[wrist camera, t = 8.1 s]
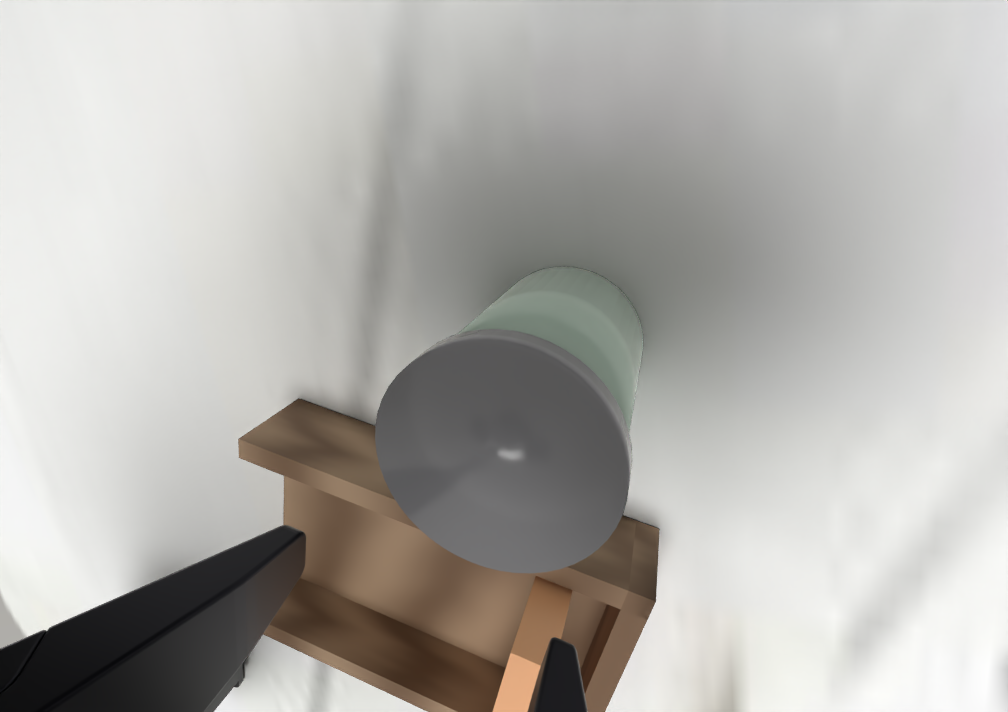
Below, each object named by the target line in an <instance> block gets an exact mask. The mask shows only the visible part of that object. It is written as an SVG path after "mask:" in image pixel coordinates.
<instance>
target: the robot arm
mask: <svg viewBox="0 0 1008 712" xmlns="http://www.w3.org/2000/svg"><path fill="white" fill-rule="evenodd" d="M305 560H306V535H305V533H304V532H303V531H301V530H299V529H296V528H294V527H291V526H288V525H283V526H280V527H277V528H275V529H273V530H271V531H268V532H266V533H264V534H261V535H259V536H257V537H255V538H252V539H250V540H248V541H245V542H243V543H241V544H239V545H236V546H234V547H232V548H230V549H227V550H225V551H223V552H220V553H218V554H216V555H214V556H211V557H209V558H207V559H204V560H202V561H200V562H198V563H195V564H193V565H191V566H188V567H186V568H184V569H182V570H179V571H177V572H175V573H172V574H170V575H168V576H166V577H163V578H161V579H159V580H157V581H154V582H152V583H150V584H147V585H145V586H143V587H141V588H138V589H136V590H134V591H131V592H129V593H127V594H125V595H122V596H120V597H118V598H115V599H113V600H111V601H109V602H106V603H104V604H102V605H99V606H97V607H95V608H93V609H90V610H88V611H86V612H84V613H81V614H79V615H77V616H74V617H72V618H70V619H68V620H65V621H63V622H61V623H58V624H56V625H54V626H52V627H50V628H49V629H48V630H47V631H46V630H42V631H40V632H37V633H35V634H33V635H31V636H28V637H26V638H24V639H22V640H19V641H17V642H15V643H13V644H10V645H8V646H5V647H3V648H1V649H0V712H214V710H215V709H216V708H217V707H218V706H219V704H220V703H221V702H222V701H223V699H224V698H225V697H226V696H227V695H228V693H229V692H230V691H231V690H232V688H233V687H239V686H240V684H241V683H242V682H243V662H244V661H245V660H246V658H247V657H248V656H249V654H250V653H251V651H252V650H253V648H254V647H255V645H256V644H257V643H258V641H259V639H260V638H261V636H262V635H263V633H264V632H265V630H266V629H267V627H268V626H269V624H270V623H271V621H272V620H273V618H274V617H275V615H276V614H277V612H278V611H279V609H280V608H281V606H282V604H283V603H284V601H285V600H286V598H287V597H288V595H289V594H290V592H291V591H292V589H293V588H294V586H295V585H296V583H297V582H298V580H299V579H300V577H301V575H302V573H303V571H304V568H305ZM528 712H588V710H587V704H586V699H585V693H584V688H583V683H582V677H581V672H580V666H579V661H578V655H577V651H576V648H575V646H574V645H573V644H571V643H568V642H566V641H563V640H561V639H559V638H556V637H553V638H551V639H550V642H549V644H548V647H547V650H546V653H545V656H544V658H543V661H542V664H541V667H540V670H539V673H538V676H537V680H536V683H535V687H534V690H533V694H532V698H531V701H530V705H529V708H528Z"/></svg>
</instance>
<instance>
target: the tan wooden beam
mask: <svg viewBox="0 0 1008 712" xmlns="http://www.w3.org/2000/svg"><path fill="white" fill-rule="evenodd" d="M572 591H573V590H570V589H568V588H565V587H563V586H560V585H558V584H555V583H553V582H550V581H548V580H545V579H543V578H540V577H538V576H536V577H535V580H534V583H533V586H532V589H531V592H530V595H529V598H528V601H527V604H526V607H525V610H524V613H523V616H522V620H521V623H520V626H519V629H518V632H517V635H516V638H515V641H514V644H513V647H512V650H511V653H510V656H509V660H508V663H507V666H506V669H505V673H504V676H503V679H502V682H501V686H500V689H499V692H498V695H497V699H496V702H495V705H494V708H493V712H528V708H529V705H530V701H531V698H532V694H533V690H534V687H535V683H536V680H537V676H538V673H539V670H540V667H541V664H542V661H543V658H544V656H545V653H546V650H547V647H548V644H549V642H550V639H551V638H553V637H556V638H559V639H561V637H562V633H563V629H564V625H565V620H566V616H567V612H568V608H569V604H570V599H571V595H572Z"/></svg>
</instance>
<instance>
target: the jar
mask: <svg viewBox="0 0 1008 712" xmlns="http://www.w3.org/2000/svg"><path fill="white" fill-rule="evenodd" d="M642 353H643V333H642V327H641V324H640V321H639V317H638V315H637V313H636V311H635V309H634V307H633V305H632V304H631V302H630V301H629V299H628V298H627V297H626V296H625V295H624V293H623V292H622V291H621V290H620V289H619V288H617V287H616V286H615V285H614V284H613V283H611V282H610V281H608V280H607V279H605V278H604V277H602V276H600V275H598V274H596V273H594V272H591V271H588V270H585V269H580V268H575V267H551V268H546V269H542V270H539V271H536V272H534V273H532V274H530V275H528V276H526V277H524V278H523V279H521V280H520V281H518V282H517V283H516V284H515V285H514V286H512V287H511V288H510V289H509V290H508V291H507V292H505V293H504V294H503V295H502V296H501V297H500V298H498V299H497V300H496V301H495V302H494V303H493V304H491V305H490V306H489V307H488V308H487V309H486V310H485V311H483V312H482V313H481V314H480V315H479V316H478V317H476V318H475V319H474V320H473V321H472V322H471V323H469V324H468V325H467V326H466V327H465V328H464V329H463V330H461V331H460V332H459V333H458V334H457V335H453V336H450V337H448V338H446V339H444V340H442V341H440V342H438V343H436V344H435V345H433V346H432V347H430V348H429V349H428V350H426V351H425V352H424V353H422V354H421V355H420V356H419V357H418V358H416V359H415V360H414V361H413V362H411V363H410V364H409V365H408V366H407V367H406V368H405V369H404V370H402V371H401V372H400V373H399V374H398V375H397V376H396V378H395V379H394V380H393V382H392V383H391V384H390V386H389V387H388V389H387V391H386V393H385V395H384V397H383V398H382V401H381V404H380V407H379V410H378V414H377V420H376V426H375V443H376V453H377V457H378V461H379V466H380V469H381V471H382V474H383V477H384V480H385V482H386V484H387V486H388V488H389V490H390V492H391V494H392V495H393V497H394V499H395V500H396V502H397V503H398V505H399V506H400V508H401V509H402V510H403V511H404V513H405V514H406V515H407V516H408V518H409V519H410V520H411V521H412V522H413V523H414V524H415V525H416V526H417V527H418V528H419V529H420V530H421V531H422V532H423V533H425V534H426V535H427V536H428V537H429V538H430V539H432V540H433V541H434V542H436V543H437V544H439V545H440V546H442V547H443V548H444V549H446V550H448V551H450V552H451V553H453V554H455V555H457V556H459V557H461V558H463V559H465V560H467V561H470V562H472V563H475V564H478V565H481V566H483V567H486V568H491V569H495V570H499V571H505V572H512V573H542V572H549V571H554V570H558V569H562V568H565V567H568V566H570V565H573V564H575V563H577V562H579V561H581V560H583V559H585V558H587V557H588V556H590V555H591V554H592V553H594V552H595V551H596V550H598V549H599V548H600V547H601V546H602V545H603V544H604V543H605V542H606V541H607V540H608V539H609V537H610V536H611V535H612V533H613V532H614V530H615V529H616V527H617V525H618V523H619V521H620V519H621V517H622V515H623V512H624V509H625V505H626V502H627V496H628V489H629V482H630V475H631V467H632V445H631V440H630V435H629V430H630V424H631V419H632V413H633V407H634V401H635V395H636V389H637V383H638V377H639V371H640V365H641V360H642Z"/></svg>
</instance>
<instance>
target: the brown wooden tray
mask: <svg viewBox="0 0 1008 712" xmlns="http://www.w3.org/2000/svg"><path fill="white" fill-rule="evenodd" d="M238 443H239V458H241V459H243V460H246V461H248V462H251V463H253V464H256V465H258V466H261V467H263V468H266V469H268V470H271V471H273V472H276V473H279V474H281V475H284V525H288V526H291V527H294V528H296V529H299V530H301V531H303V532H304V533H305V535H306V560H305V568H304V571H303V573H302V575H301V577H300V579H299V580H298V582H297V583H296V585H295V586H294V588H293V589H292V591H291V592H290V594H289V595H288V597H287V598H286V600H285V601H284V603H283V604H282V606H281V608H280V609H279V611H278V612H277V614H276V615H275V617H274V618H273V620H272V621H271V623H270V624H269V626H268V627H267V629H266V630H265V632H264V633H263V634H264V635H266V636H268V637H270V638H272V639H274V640H277V641H279V642H281V643H283V644H285V645H287V646H289V647H291V648H294V649H296V650H298V651H300V652H302V653H304V654H306V655H308V656H311V657H313V658H315V659H317V660H319V661H321V662H323V663H325V664H328V665H330V666H332V667H334V668H336V669H338V670H340V671H342V672H345V673H347V674H349V675H351V676H353V677H355V678H357V679H359V680H362V681H364V682H366V683H368V684H370V685H372V686H374V687H376V688H379V689H381V690H383V691H385V692H387V693H389V694H391V695H393V696H396V697H398V698H400V699H402V700H404V701H406V702H408V703H411V704H413V705H415V706H417V707H419V708H421V709H423V710H425V711H428V712H493V708H494V705H495V702H496V699H497V695H498V692H499V689H500V686H501V682H502V679H503V676H504V673H505V669H506V666H507V663H508V660H509V656H510V653H511V650H512V647H513V644H514V641H515V638H516V635H517V632H518V629H519V626H520V623H521V620H522V616H523V613H524V610H525V607H526V604H527V601H528V598H529V595H530V592H531V589H532V586H533V583H534V580H535V577H536V576H538V577H540V578H543V579H545V580H548V581H550V582H553V583H555V584H558V585H560V586H563V587H565V588H568V589H570V590H573V591H572V595H571V599H570V604H569V608H568V612H567V616H566V620H565V625H564V629H563V633H562V637H561V640H563V641H566V642H568V643H571V644H573V645H574V646H575V648H576V651H577V655H578V661H579V666H580V672H581V677H582V683H583V688H584V693H585V699H586V704H587V710H588V712H605V710H606V708H607V706H608V704H609V702H610V700H611V697H612V695H613V693H614V691H615V689H616V687H617V684H618V682H619V680H620V678H621V676H622V674H623V671H624V669H625V667H626V665H627V663H628V661H629V658H630V656H631V654H632V652H633V650H634V648H635V645H636V643H637V641H638V639H639V637H640V635H641V632H642V630H643V628H644V626H645V624H646V622H647V619H648V617H649V615H650V613H651V611H652V609H653V606H654V604H655V602H656V586H657V566H658V545H659V529H658V528H655V527H653V526H650V525H647V524H644V523H642V522H639V521H636V520H633V519H630V518H628V517H625V516H622V517H621V519H620V521H619V523H618V525H617V527H616V529H615V530H614V532H613V533H612V535H611V536H610V537H609V539H608V540H607V541H606V542H605V543H604V544H603V545H602V546H601V547H600V548H599V549H598V550H596V551H595V552H594V553H592V554H591V555H590V556H588V557H587V558H585V559H583V560H581V561H579V562H577V563H575V564H573V565H570V566H568V567H565V568H562V569H558V570H554V571H549V572H542V573H512V572H505V571H499V570H495V569H491V568H486V567H483V566H481V565H478V564H475V563H472V562H470V561H467V560H465V559H463V558H461V557H459V556H457V555H455V554H453V553H451V552H450V551H448V550H446V549H444V548H443V547H442V546H440V545H439V544H437V543H436V542H434V541H433V540H432V539H430V538H429V537H428V536H427V535H426V534H425V533H423V532H422V531H421V530H420V529H419V528H418V527H417V526H416V525H415V524H414V523H413V522H412V521H411V520H410V519H409V518H408V516H407V515H406V514H405V513H404V511H403V510H402V509H401V508H400V506H399V505H398V503H397V502H396V500H395V499H394V497H393V495H392V494H391V492H390V490H389V488H388V486H387V484H386V482H385V480H384V477H383V474H382V471H381V469H380V466H379V461H378V457H377V453H376V443H375V426H373V425H371V424H368V423H365V422H362V421H359V420H357V419H354V418H351V417H348V416H346V415H343V414H340V413H337V412H335V411H332V410H329V409H326V408H324V407H321V406H318V405H315V404H312V403H310V402H307V401H304V400H301V399H297V400H296V401H294V402H293V403H291V404H290V405H288V406H287V407H285V408H284V409H282V410H281V411H279V412H278V413H276V414H275V415H273V416H272V417H270V418H269V419H267V420H266V421H265V422H263V423H262V424H260V425H259V426H257V427H256V428H254V429H253V430H251V431H250V432H248V433H247V434H245V435H244V436H242V437H241V438H239V439H238Z"/></svg>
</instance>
